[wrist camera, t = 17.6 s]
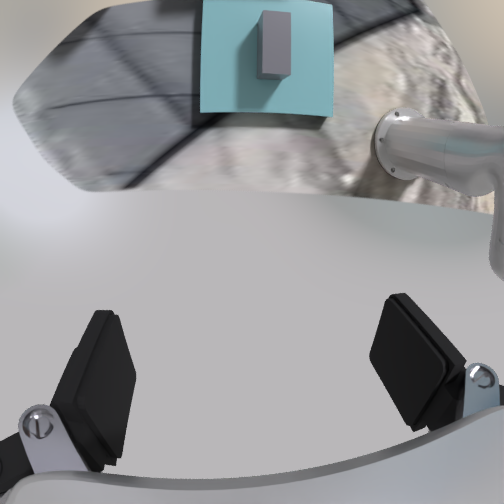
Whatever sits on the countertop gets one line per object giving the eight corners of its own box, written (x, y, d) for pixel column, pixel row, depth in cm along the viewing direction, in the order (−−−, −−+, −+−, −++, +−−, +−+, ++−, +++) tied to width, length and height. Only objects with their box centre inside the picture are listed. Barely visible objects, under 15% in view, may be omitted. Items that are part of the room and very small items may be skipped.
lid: (326, 9, 33) (345, -6, 27) (327, 117, 41) (346, 116, 34) (204, 0, 31) (202, -20, 25) (200, 113, 39) (198, 110, 32)
